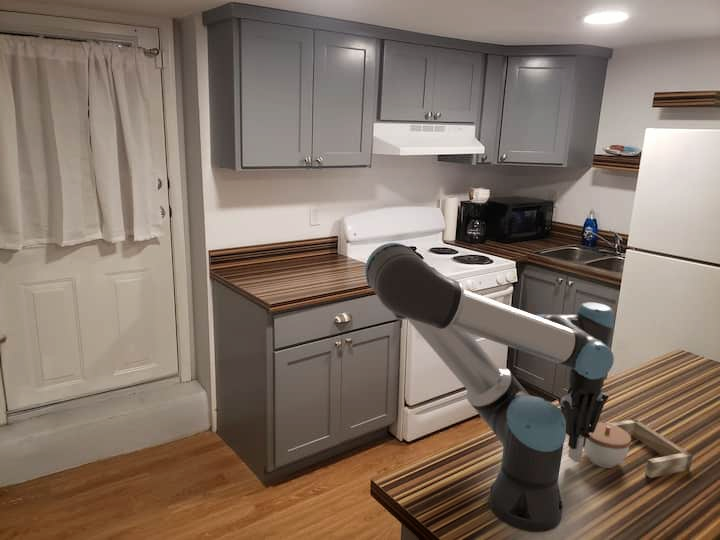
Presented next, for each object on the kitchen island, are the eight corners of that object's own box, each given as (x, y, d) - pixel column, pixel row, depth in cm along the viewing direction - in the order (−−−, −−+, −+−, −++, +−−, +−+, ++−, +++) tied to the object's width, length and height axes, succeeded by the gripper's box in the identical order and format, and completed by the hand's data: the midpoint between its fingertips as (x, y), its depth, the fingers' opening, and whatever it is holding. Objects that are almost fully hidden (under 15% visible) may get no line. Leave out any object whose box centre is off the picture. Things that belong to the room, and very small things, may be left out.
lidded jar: (631, 476, 134) (637, 441, 131) (583, 469, 136) (589, 434, 133) (620, 452, 144) (626, 419, 142) (576, 446, 146) (581, 413, 144)
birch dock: (650, 477, 134) (653, 463, 133) (596, 438, 150) (598, 425, 149) (689, 469, 138) (692, 455, 137) (632, 432, 154) (635, 419, 153)
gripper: (575, 378, 125) (562, 472, 131) (622, 372, 129) (607, 463, 135) (554, 365, 132) (542, 454, 138) (598, 359, 136) (585, 446, 142)
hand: (574, 458), depth 136 cm, fingers closed
